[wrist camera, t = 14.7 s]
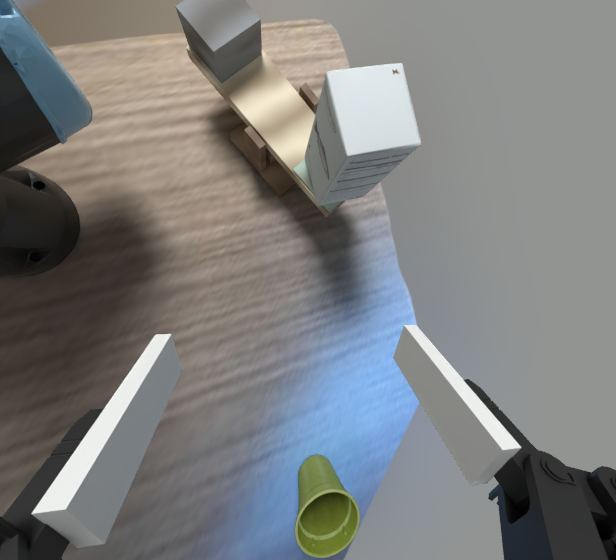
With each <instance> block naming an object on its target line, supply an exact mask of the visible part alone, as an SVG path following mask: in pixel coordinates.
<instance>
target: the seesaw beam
mask: <svg viewBox="0 0 616 560" xmlns="http://www.w3.org/2000/svg"><path fill="white" fill-rule="evenodd" d="M175 7H176V10H177V12H178V15H179V18H180V21H181V24H182V27H183V30H184V33H185V35H186V38H187V41H188V44H189V45H188V46H186V49H187V52H188V55H189V57H190V59H191V60H192V62H193V63H194V64H195V65H196V66H197V67H198V69H199V70H200V71H201V72H202V73H203V74H204V76H205V77H206V78H207V79H208V80H209V81H210V83H211V84H212V85H213V86H214V87H215V88H216V90H217V91H218V92H219V93H220V94H221V95H222V97H223V98H224V99H225V100H226V101H227V102H228V104H229V105H230V106H231V107H232V108H233V109H234V111H235V112H236V113H237V114H238V115H239V116H240V118H241V119H242V120H243V121H244V122H245V123H246V125H247V126H251V127H252V128H253V130H254V131H255V132H256V133H257V134H258V136H259V137H260V138H261V139H262V140H263V142H264V143H265V144H266V148H267V149H268V150H269V152H270V153H271V154H272V155H273V156H274V157H275V159H276V160H277V161H278V162H279V163H280V164H281V166H282V167H283V168H284V169H285V170H286V171H287V173H288V174H289V175H290V176H291V177H292V178H293V180H294V181H295V182H296V183H297V184H298V185H299V187H300V188H301V189H302V190H303V191H304V192H305V194H306V195H307V196H308V197H309V198H310V199H311V201H312V202H313V203H314V204H315V205H316V206H317V203H316V198H315V194H314V190H313V185H312V181H311V177H310V174H309V170H308V166H307V163H306V160H305V152H306V148H307V144H308V141H309V137H310V133H311V129H312V126H313V122H314V118H315V114H314V113H313V111H312V110H311V109H310V108H309V106H308V105H307V104H306V103H305V101H304V100H303V99H302V98H301V97H300V95H299V94H298V93H297V92H296V90H295V89H294V88H293V87H292V85H291V84H290V83H289V82H288V81H287V79H286V78H285V77H284V76H283V74H282V73H281V72H280V71H279V70H278V68H277V67H276V66H275V65H274V63H273V62H272V61H271V60H270V58H269V57H268V56H267V55H266V54H265V52H264V51H263V50H262V45H261V23H260V19H259V17H258V16H257V15H256V14H255V12H254V11H253V10H252V9H251V7H250V6H249V5H248V4H247V3H246V1H245V0H184V1H183V2H181V3H180V4H178V5H176V6H175ZM345 201H346V200H345ZM345 201H340V202H336V203H331V204H326V205H321V206H317V208H318V209H319V210H320V211H321V212H322V213H323V215H324V216H325V217H326V218H327V217H328V216H329V215H330V214H331V213H332V212H333V211H335V210H336V209H337V208H338V207H339V206H340V205H341V204H342V203H344V202H345Z"/></svg>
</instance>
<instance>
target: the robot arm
mask: <svg viewBox="0 0 616 560" xmlns="http://www.w3.org/2000/svg"><path fill="white" fill-rule="evenodd" d="M92 113H93V112H92V108H91V105H90V103H89V102H88V100H87V98H86V97H85V95H84V94H83V93H82V91H81V90H80V88H79V87H78V86H77V84H76V83H75V81H74V80H73V79H72V77H71V76H70V75H69V73H68V72H67V71H66V69H65V68H64V67H63V65H62V64H61V63H60V61H59V60H58V59H57V57H56V56H55V55H54V53H53V52H52V51H51V49H50V48H49V47H48V45H47V44H46V43H45V41H44V40H43V39H42V38H41V36H40V35H39V34H38V32H37V31H36V30H35V28H34V27H33V26H32V24H31V23H30V22H29V21H28V19H27V18H26V17H25V15H24V14H23V13H22V11H21V10H20V9H19V8H18V6H17V5H16V3H15V2H14V1H13V0H0V277H20V276H30V275H34V274H38V273H41V272H44V271H46V270H49V269H51V268H52V267H54V266H56V265H57V264H59V263H60V262H61V261H62V260H63V259H64V258H65V257H66V256H67V255H68V254H69V253H70V251H71V250H72V248H73V247H74V245H75V242H76V240H77V236H78V231H79V220H78V215H77V211H76V208H75V206H74V204H73V202H72V200H71V199H70V197H69V196H68V195H67V193H66V192H65V191H64V190H63V189H62V188H61V187H60V186H58V185H57V184H56V183H55V182H53V181H52V180H50V179H48V178H47V177H45V176H43V175H40V174H38V173H36V172H34V171H32V170H29V169H27V168H25V167H22V166H19V165H17V164H19V163H21V162H23V161H25V160H27V159H29V158H31V157H33V156H35V155H37V154H39V153H41V152H43V151H45V150H47V149H49V148H51V147H53V146H54V145H56V144H58V143H62V144H64V143H65V142H66V141H67V138H68V137H69V136H71V135H73V134H74V133H76V132H78V131H79V130H81V129H83V128H84V127H86V126H88V125H89V124H90V122H91V121H92ZM393 358H394V360H395V362H396V363H397V365H398V367H399V368H400V370H401V372H402V373H403V375H404V377H405V378H406V380H407V382H408V383H409V385H410V387H411V388H412V390H413V392H414V393H415V395H416V397H417V398H418V400H419V402H420V403H421V405H422V407H423V408H424V410H425V412H426V413H427V415H428V416H429V418H430V420H431V422H432V423H433V425H434V426H435V428H436V430H437V431H438V433H439V435H440V436H441V438H442V440H443V441H444V443H445V444H446V446H447V448H448V450H449V451H450V453H451V455H452V456H453V458H454V460H455V461H456V463H457V464H458V466H459V468H460V470H461V471H462V473H463V475H464V476H465V478H466V479H467V481H468V483H469V485H470V486H473V485H479V484H486V483H488V482H489V481H490V480H491V479H492V477H493V476H494V477H495V478H496V480H497V481H498V483H499V485H497V486H496V487H495V488H494V489H493V490H492V491H491V492H490V493H489V498H488V499H490V500H491V501H492V500H493V499H494V498H495V497H497V496H498V502H497V504H498V505H499V514H500V523H501V533H502V543H503V552H504V560H616V470H614V469H612V468H609V467H603V466H602V467H599V468H597V469H596V470H594V471H593V472H592V473H591V472H587V471H583V470H579V469H575V468H571V467H567V466H565V465H564V464H563V463H562V462H561V461H559V460H558V459H557V458H555V457H553V456H552V455H550V454H548V453H545V452H542V451H538V450H537V449H536V448H535V447H534V446H533V445H532V444H531V443H530V442H529V441H528V440H527V439H526V437H525V436H524V435H523V434H522V433H521V432H520V431H519V430H518V429H517V428H516V426H515V425H514V424H513V423H512V422H511V421H510V420H509V419H508V418H507V417H506V416H505V414H504V413H503V412H502V411H501V410H499V409H498V407H497V406H496V404H494V402H493V401H491V400H490V398H489V397H488V396H487V395H486V393H485V392H484V391H483V390H482V389H481V388H480V387H478V386H477V385H476V384H474V383H473V382H472V381H470V380H469V379H466V380H463V379H462V378H461V377H460V376H459V374H457V372H456V371H455V370H454V369H453V367H451V365H450V364H449V363H448V362H447V360H445V358H444V357H443V356H442V355H441V354H440V352H439V351H438V350H437V349H436V348H435V347H434V345H433V344H432V343H431V342H430V341H429V340H428V339H427V337H426V336H425V335H424V334H423V333H422V332H421V330H420V329H419V328H418V327H417V326H416V325H404V327H403V330H402V333H401V336H400V339H399V342H398V345H397V348H396V351H395V354H394V357H393ZM181 372H182V368H181V365H180V361H179V358H178V354H177V351H176V347H175V344H174V341H173V337H172V334H157V335H155V336H154V338H153V339H152V340H151V342H150V343H149V345H148V346H147V348H146V349H145V351H144V352H143V353H142V355H141V356H140V358H139V359H138V361H137V362H136V364H135V365H134V366H133V368H132V369H131V371H130V372H129V374H128V375H127V376H126V378H125V379H124V381H123V382H122V384H121V385H120V387H119V388H118V389H117V391H116V392H115V394H114V395H113V397H112V398H111V400H110V401H109V402H108V404H107V405H106V407H105V408H104V409H96V410H90V411H89V412H88V413H86V414H85V415H84V416H83V417H82V418H81V419H79V420H78V421H77V422H76V423H75V424H74V425H73V426H72V427H71V429H70V430H69V431H68V433H67V434H66V435H65V437H64V438H63V439H62V440H61V441H62V442H61V443H60V444H58V446H57V447H56V448H55V450H54V451H53V452H52V453H51V456H50V458H48V459H47V460H46V461H45V463H44V464H43V465H42V466H41V468H40V469H39V470H38V472H37V473H36V474H35V476H34V477H33V478H32V479H31V481H30V482H29V483H28V485H27V486H26V487H25V489H24V490H23V491H22V493H21V494H20V495H19V496H18V498H17V499H16V500H15V502H14V503H13V504H12V506H11V507H10V508H9V509H8V511H7V512H6V513H5V515H4V516H3V517H0V560H62V558H61V556H62V555H63V553H64V551H65V549H66V547H67V545H68V544H69V543H71V544H72V545H73V546H75V547H76V548H82V547H89V546H95V545H101V544H105V542H106V540H107V538H108V536H109V533H110V531H111V529H112V527H113V524H114V522H115V520H116V518H117V515H118V513H119V511H120V509H121V506H122V504H123V502H124V500H125V498H126V495H127V493H128V491H129V489H130V486H131V484H132V482H133V480H134V477H135V475H136V473H137V471H138V468H139V466H140V464H141V462H142V459H143V457H144V455H145V453H146V450H147V448H148V446H149V444H150V442H151V439H152V437H153V435H154V433H155V430H156V428H157V426H158V424H159V421H160V419H161V417H162V415H163V412H164V410H165V408H166V406H167V403H168V401H169V399H170V397H171V395H172V392H173V390H174V388H175V386H176V383H177V381H178V379H179V377H180V374H181Z"/></svg>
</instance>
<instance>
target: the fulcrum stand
mask: <svg viewBox="0 0 616 560" xmlns="http://www.w3.org/2000/svg"><path fill="white" fill-rule="evenodd" d="M299 95H300V97H301V98H302V99H303V100H304V101H305V103H306V104H307V105H308V106H309V108H310V109H311V110H312V111H313V113H314V114H316V111H317V107H318V103H319V100H318V98H317V97H316V96H315V94H314V93H313V92H312V90H311V89H310V88H309V87H308V85H307V84H306V83H305V84H303V85H302V86H301V87H300V92H299ZM228 134H229V137H230V140H231V141H232V142H233V143H234V145H235V146H236V147H237V148H238V149H239V150H240V152H241V153H242V154H243V155H244V156H245V157H246V159H247V160H248V161H249V162H250V163H251V164H252V166H253V167H254V168H255V169H256V170H257V171H258V173H259V174H260V175H261V176H262V177H263V178H264V180H265V181H266V182H267V183H268V184H269V185H270V187H271V188H272V189H273V190H274V191H275V192H276V194H277V195H278V196H279V197H280V196H282V195H283V194H284V193H285V192H286V191H288V190H289V189H290V188H291V187H292V186H294V185H295V184H296V182H295V181H294V180H293V178H292V177H291V176H290V175H289V174H288V173H287V171H286V170H285V169H284V168H283V167H282V166H281V164H280V163H279V162H278V161H277V160H276V159H275V157H274V156H273V155H272V154H271V153H270V152H269V150H268V149H267V148H266V144H265V143H264V142H263V140H262V139H261V138H260V137H259V136H258V134H257V133H256V132H255V131H254V130H253V128H252V127H251V126H247V125H246V123H245V122H243V123H242V124H240V125H239V126H238V127H236V128H235V129H234V130H232V131H231V132H230V133H228Z"/></svg>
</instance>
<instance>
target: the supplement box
mask: <svg viewBox="0 0 616 560" xmlns="http://www.w3.org/2000/svg"><path fill="white" fill-rule="evenodd" d="M420 145H421V140H420V136H419V131H418V128H417V123H416V119H415V115H414V111H413V107H412V101H411V98H410V94H409V90H408V86H407V81H406V78H405V73H404V68H403V64H402V63H399V64H386V65H377V66H368V67H360V68H350V69H342V70H333V71H328V72H327V73H326V76H325V80H324V84H323V88H322V92H321V96H320V99H319V103H318V107H317V111H316V114H315V118H314V122H313V126H312V129H311V133H310V137H309V141H308V144H307V148H306V152H305V160H306V163H307V166H308V170H309V174H310V177H311V181H312V185H313V190H314V194H315V198H316V203H317V206H321V205H326V204H331V203H336V202H340V201H345V200H350V199H355V198H359V197H363V196H365V195H366V194H367V193H368V192H369V191H370V190H371V189H373V188H374V187H375V186H376V185H377V184H378V183H379V182H380V181H381V180H382V179H384V178H385V177H386V176H387V175H388V174H389V173H390V172H391V171H392V170H393V169H394V168H396V167H397V166H398V165H399V164H400V163H401V162H402V161H403V160H404V159H405V158H406V157H408V156H409V155H410V154H411V153H412V152H413V151H414V150H416V149H417V148H418V147H419V146H420Z"/></svg>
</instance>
